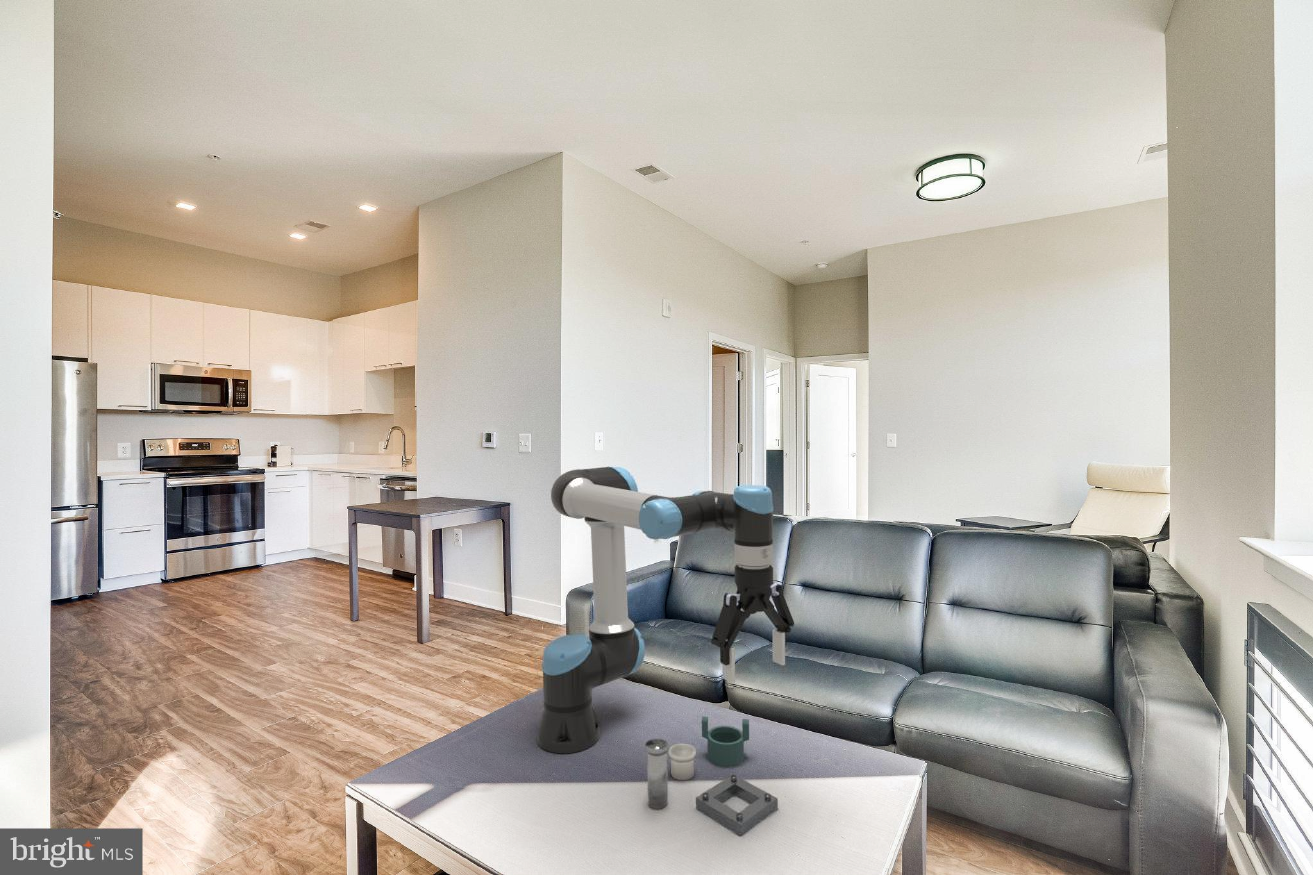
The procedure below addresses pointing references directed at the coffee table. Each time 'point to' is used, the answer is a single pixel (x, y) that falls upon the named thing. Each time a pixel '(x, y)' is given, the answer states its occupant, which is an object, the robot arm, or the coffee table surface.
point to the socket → (730, 818)
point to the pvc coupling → (682, 761)
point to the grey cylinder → (657, 773)
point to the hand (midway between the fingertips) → (754, 671)
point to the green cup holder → (725, 743)
